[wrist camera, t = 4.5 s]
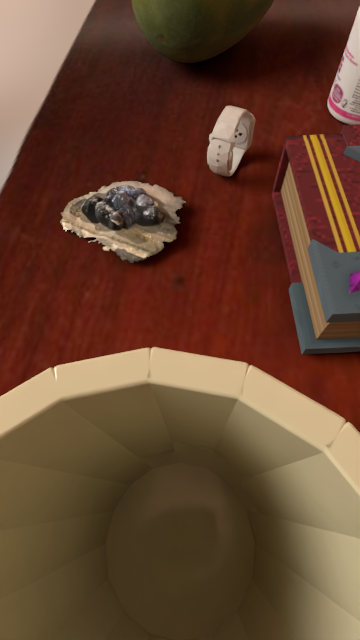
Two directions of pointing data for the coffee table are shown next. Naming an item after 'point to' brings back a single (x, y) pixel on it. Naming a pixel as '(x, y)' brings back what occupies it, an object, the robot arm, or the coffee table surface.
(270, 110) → the coffee table surface
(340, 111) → the pill bottle
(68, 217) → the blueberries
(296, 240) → the decorative book
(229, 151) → the smartwatch
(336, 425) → the cup
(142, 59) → the coffee table surface
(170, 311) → the coffee table surface
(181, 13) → the fruit
